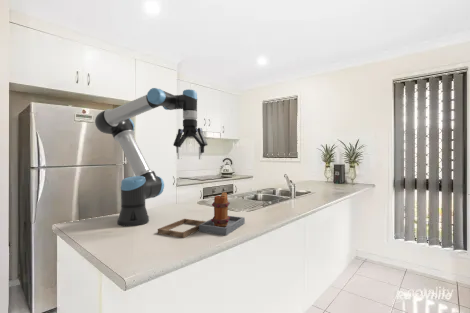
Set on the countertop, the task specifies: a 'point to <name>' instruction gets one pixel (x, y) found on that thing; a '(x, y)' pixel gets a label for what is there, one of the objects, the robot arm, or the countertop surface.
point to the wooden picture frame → (167, 231)
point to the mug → (221, 210)
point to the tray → (232, 225)
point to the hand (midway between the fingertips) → (190, 159)
